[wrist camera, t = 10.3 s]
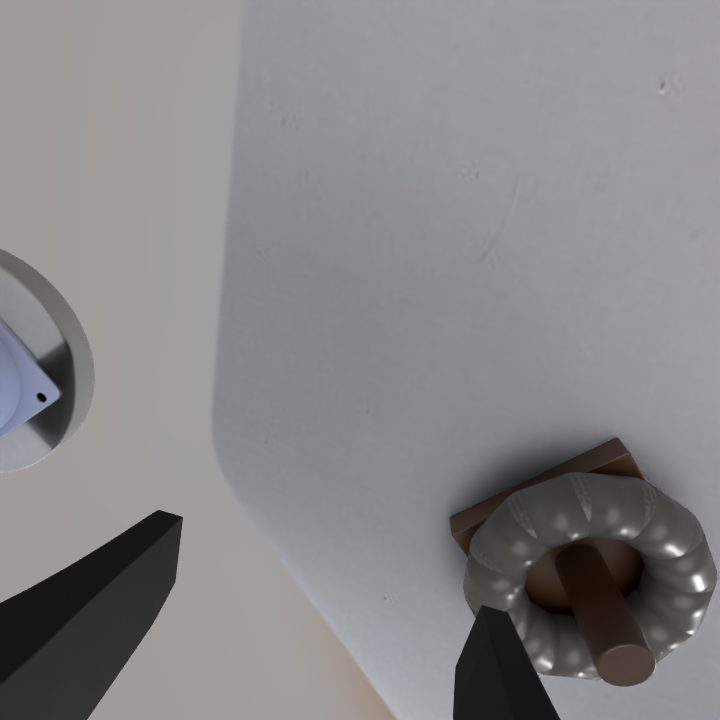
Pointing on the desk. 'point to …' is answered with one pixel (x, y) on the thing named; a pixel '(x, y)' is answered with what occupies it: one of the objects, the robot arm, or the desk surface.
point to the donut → (597, 520)
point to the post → (585, 575)
